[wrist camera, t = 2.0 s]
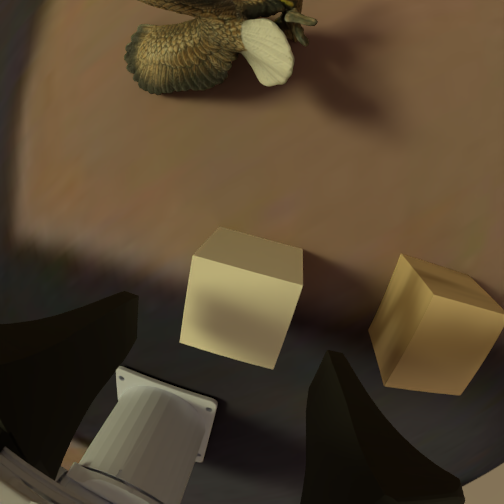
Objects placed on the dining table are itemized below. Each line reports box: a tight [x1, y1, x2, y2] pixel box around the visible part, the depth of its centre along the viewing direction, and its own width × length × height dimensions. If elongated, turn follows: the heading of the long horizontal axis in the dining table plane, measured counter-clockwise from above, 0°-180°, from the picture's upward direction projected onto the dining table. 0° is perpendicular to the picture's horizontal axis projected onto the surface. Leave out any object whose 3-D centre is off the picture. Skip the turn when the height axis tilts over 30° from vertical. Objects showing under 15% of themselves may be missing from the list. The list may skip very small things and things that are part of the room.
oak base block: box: [368, 254, 504, 395], centre depth 14 cm, size 5×5×5 cm
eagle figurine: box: [124, 0, 317, 95], centre depth 10 cm, size 8×8×10 cm
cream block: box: [180, 227, 303, 369], centre depth 15 cm, size 4×4×4 cm
